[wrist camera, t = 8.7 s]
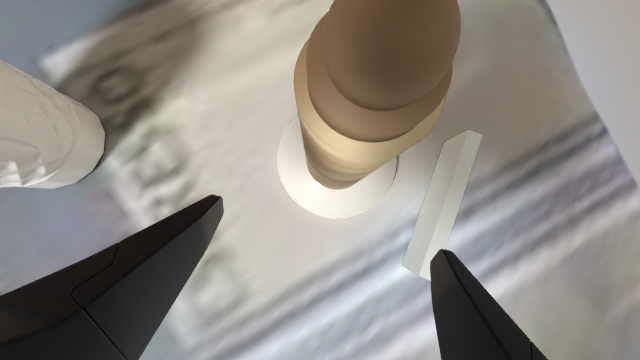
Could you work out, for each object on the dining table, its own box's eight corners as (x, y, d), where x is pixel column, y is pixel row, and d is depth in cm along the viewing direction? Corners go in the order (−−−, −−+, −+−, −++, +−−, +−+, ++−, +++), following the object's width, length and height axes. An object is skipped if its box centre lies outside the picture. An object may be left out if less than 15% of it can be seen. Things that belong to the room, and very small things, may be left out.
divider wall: (414, 270, 18) (434, 282, 15) (401, 265, 18) (418, 276, 15) (456, 147, 19) (482, 134, 16) (444, 142, 19) (468, 129, 16)
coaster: (409, 202, 18) (411, 202, 18) (292, 231, 18) (292, 231, 17) (377, 92, 19) (378, 90, 19) (266, 117, 19) (265, 115, 18)
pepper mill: (379, 165, 18) (598, 12, 4) (331, 202, 18) (392, 169, 4) (342, 117, 19) (427, -166, 5) (293, 152, 18) (225, -43, 4)
